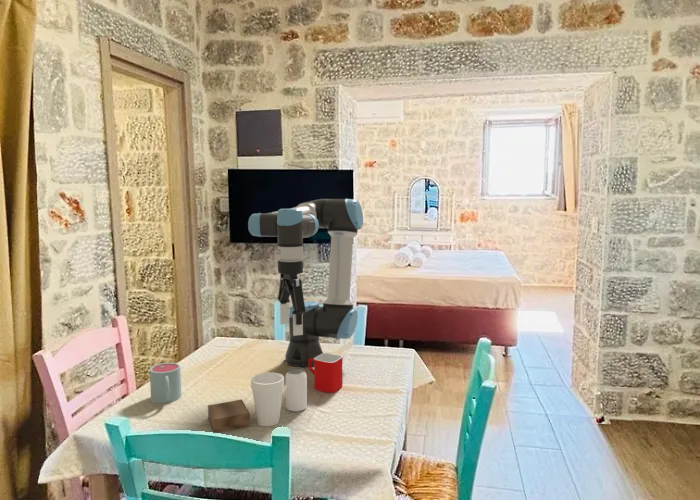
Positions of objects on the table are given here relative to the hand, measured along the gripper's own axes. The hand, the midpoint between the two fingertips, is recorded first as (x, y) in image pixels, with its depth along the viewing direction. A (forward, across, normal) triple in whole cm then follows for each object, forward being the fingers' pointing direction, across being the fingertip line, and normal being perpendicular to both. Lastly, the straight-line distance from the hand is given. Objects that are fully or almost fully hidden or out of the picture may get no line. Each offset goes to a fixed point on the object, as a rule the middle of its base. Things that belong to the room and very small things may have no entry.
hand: (291, 329), depth 150 cm
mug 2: (+25, -12, +15) cm, 31 cm away
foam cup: (+25, +6, -9) cm, 27 cm away
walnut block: (+25, +2, -20) cm, 32 cm away
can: (+25, +1, +1) cm, 25 cm away
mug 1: (+25, -22, -35) cm, 48 cm away
